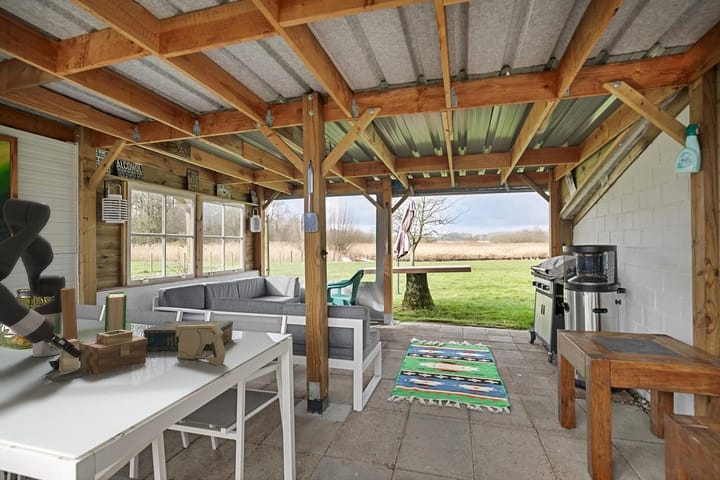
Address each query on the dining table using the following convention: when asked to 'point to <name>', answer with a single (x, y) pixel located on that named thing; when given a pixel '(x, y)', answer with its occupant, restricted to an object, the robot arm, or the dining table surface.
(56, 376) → the rubber mat
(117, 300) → the hardback book
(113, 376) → the dining table surface
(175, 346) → the metal box
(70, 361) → the wooden block
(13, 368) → the dining table surface
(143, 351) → the stacked wooden tiers
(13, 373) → the dining table surface
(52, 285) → the robot arm
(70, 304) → the hammer
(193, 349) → the gun
